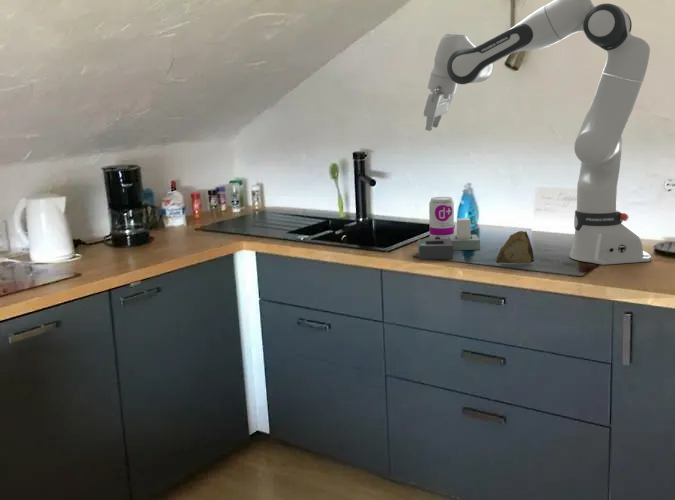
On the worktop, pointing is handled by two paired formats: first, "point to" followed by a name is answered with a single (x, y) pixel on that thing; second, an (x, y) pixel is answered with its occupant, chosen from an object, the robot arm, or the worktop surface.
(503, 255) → the rock
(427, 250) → the port
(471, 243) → the block
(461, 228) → the plug
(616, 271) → the worktop surface
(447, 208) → the supplement can
